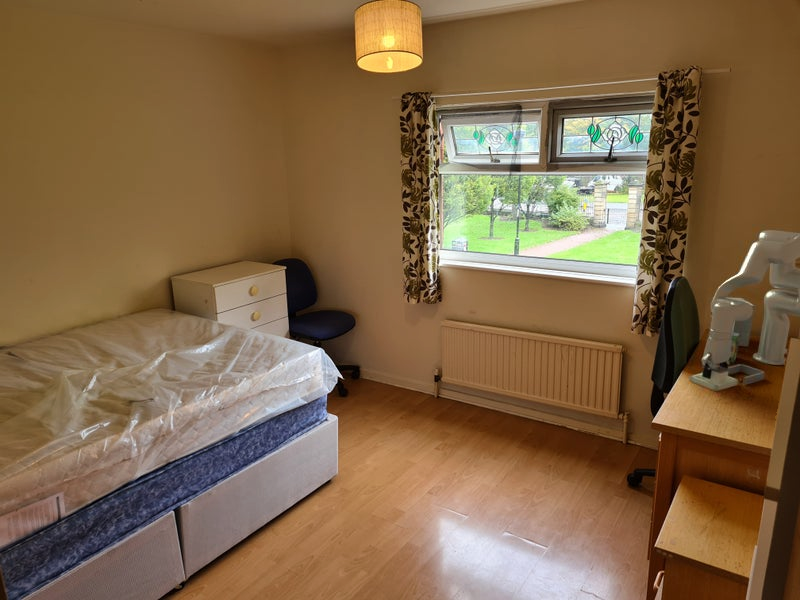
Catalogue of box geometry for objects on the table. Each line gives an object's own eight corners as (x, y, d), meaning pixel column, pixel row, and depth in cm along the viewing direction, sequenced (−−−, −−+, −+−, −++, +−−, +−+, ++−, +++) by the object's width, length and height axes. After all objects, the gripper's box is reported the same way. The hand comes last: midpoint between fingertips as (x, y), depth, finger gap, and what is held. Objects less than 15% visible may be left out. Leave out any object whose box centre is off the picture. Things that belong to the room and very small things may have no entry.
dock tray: (711, 374, 224) (711, 370, 223) (737, 384, 214) (738, 380, 213) (689, 380, 218) (690, 376, 218) (715, 391, 208) (716, 386, 208)
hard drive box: (748, 347, 254) (755, 306, 249) (730, 346, 256) (737, 305, 251) (736, 336, 269) (742, 297, 264) (719, 335, 271) (724, 296, 265)
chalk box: (713, 352, 248) (718, 321, 244) (737, 357, 242) (742, 325, 238) (709, 358, 241) (714, 327, 237) (733, 363, 235) (738, 330, 232)
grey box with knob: (709, 377, 220) (712, 361, 218) (726, 383, 214) (728, 367, 212) (701, 379, 218) (703, 364, 216) (718, 385, 212) (720, 370, 210)
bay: (739, 370, 228) (741, 363, 227) (764, 379, 219) (766, 372, 218) (720, 376, 222) (721, 369, 222) (744, 385, 213) (745, 378, 213)
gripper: (725, 328, 218) (719, 368, 222) (696, 335, 210) (691, 376, 215) (744, 333, 211) (737, 374, 216) (715, 340, 204) (709, 383, 208)
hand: (714, 375), depth 215 cm, fingers open, 9 cm apart
